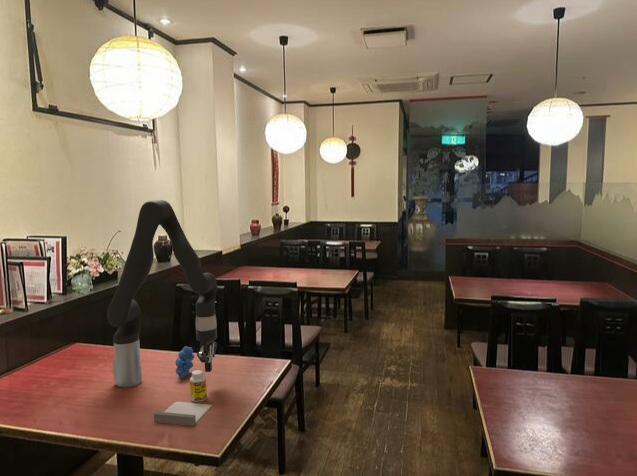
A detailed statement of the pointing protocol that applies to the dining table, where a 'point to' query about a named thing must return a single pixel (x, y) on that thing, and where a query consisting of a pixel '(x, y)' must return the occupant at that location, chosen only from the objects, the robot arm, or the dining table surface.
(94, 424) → the dining table surface
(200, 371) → the supplement bottle
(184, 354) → the grapes
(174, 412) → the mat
